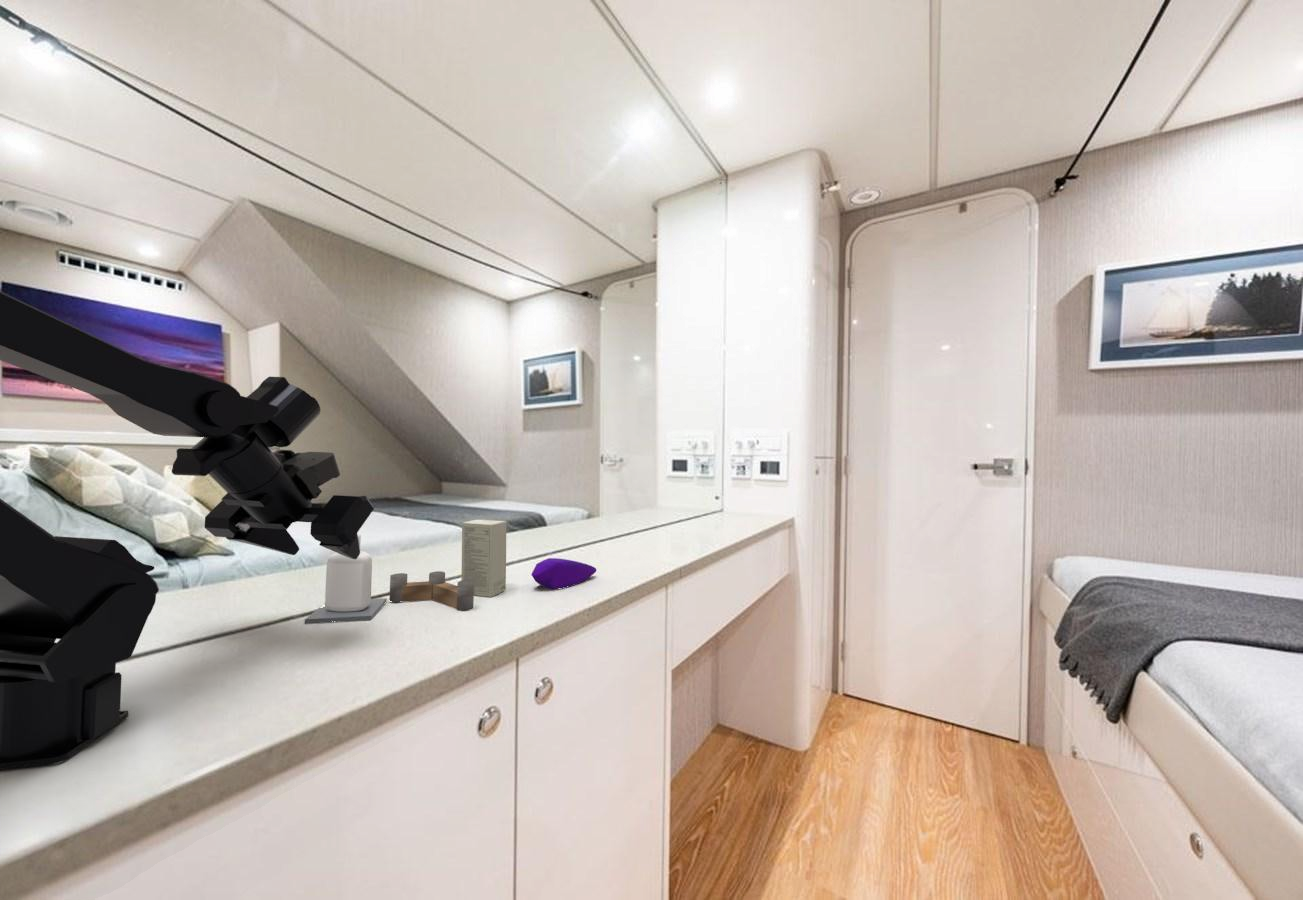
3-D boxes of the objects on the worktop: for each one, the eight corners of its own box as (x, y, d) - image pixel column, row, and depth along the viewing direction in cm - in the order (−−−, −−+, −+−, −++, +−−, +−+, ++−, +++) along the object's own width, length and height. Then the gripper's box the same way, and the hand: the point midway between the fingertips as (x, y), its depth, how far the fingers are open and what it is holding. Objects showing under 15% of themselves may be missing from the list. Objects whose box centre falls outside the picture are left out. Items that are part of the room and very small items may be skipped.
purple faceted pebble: (605, 559, 91) (541, 563, 80) (602, 585, 91) (538, 592, 79) (589, 555, 94) (525, 558, 83) (586, 579, 94) (522, 586, 83)
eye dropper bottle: (343, 616, 65) (347, 529, 65) (320, 609, 67) (324, 525, 67) (374, 607, 69) (378, 526, 69) (351, 601, 71) (354, 522, 71)
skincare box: (506, 590, 81) (508, 520, 81) (490, 598, 77) (493, 524, 77) (475, 586, 83) (477, 518, 83) (458, 593, 78) (461, 521, 79)
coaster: (304, 623, 63) (304, 619, 63) (327, 604, 71) (327, 600, 71) (370, 620, 65) (371, 615, 65) (386, 602, 73) (386, 598, 73)
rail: (377, 615, 67) (378, 587, 67) (392, 597, 75) (393, 572, 75) (472, 610, 71) (473, 583, 71) (477, 593, 79) (478, 570, 79)
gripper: (367, 431, 58) (417, 511, 68) (234, 427, 60) (303, 505, 71) (309, 499, 50) (377, 578, 60) (158, 491, 52) (249, 569, 63)
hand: (326, 554), depth 64 cm, fingers open, 9 cm apart
